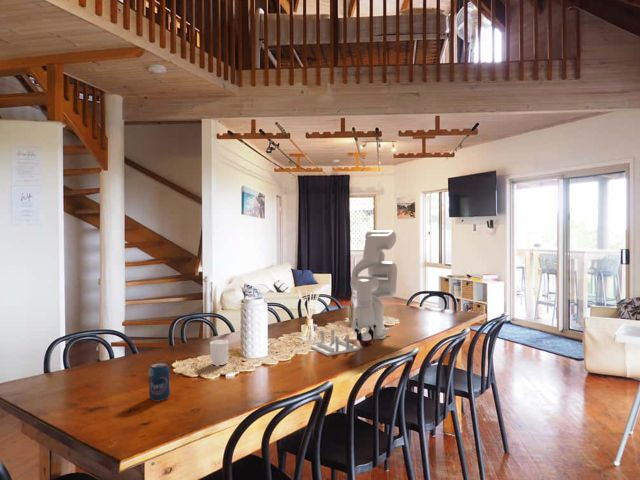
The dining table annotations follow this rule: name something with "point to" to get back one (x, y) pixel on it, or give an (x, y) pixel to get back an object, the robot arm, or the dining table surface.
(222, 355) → the white cup
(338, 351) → the white peg rack
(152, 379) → the soda can
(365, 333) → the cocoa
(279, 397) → the dining table surface
